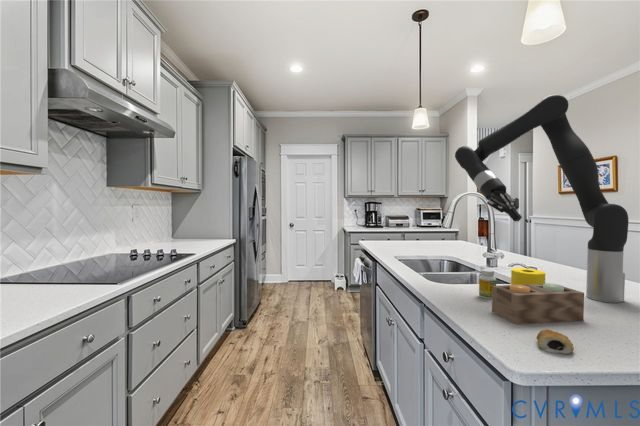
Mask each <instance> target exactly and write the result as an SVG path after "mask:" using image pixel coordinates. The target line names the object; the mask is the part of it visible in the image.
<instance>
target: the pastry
mask: <svg viewBox="0 0 640 426" xmlns="http://www.w3.org/2000/svg"><path fill="white" fill-rule="evenodd" d="M536 340H537V342H538V344H537V345H538V348H539V349H540V350H542V351H546V352H549V353H555V354H561V355H570V354H572V353H573V352H574V350H575V347H574V344H573V343H572V342H571V340H570V339H569V337H568V336H566V335H565V334H562V332H558V331H554V330H552V329H543V330H540V331H539V332H538V333H537V335H536Z"/></svg>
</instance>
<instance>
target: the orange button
mask: <svg viewBox="0 0 640 426" xmlns="http://www.w3.org/2000/svg"><path fill="white" fill-rule="evenodd" d="M509 285H510V290H511V291H514V292H517V293H530V287H528V286H524V285H516V284H513V285H511V284H509Z"/></svg>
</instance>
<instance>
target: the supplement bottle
mask: <svg viewBox="0 0 640 426" xmlns="http://www.w3.org/2000/svg"><path fill="white" fill-rule="evenodd" d="M494 275H495V270H493V269H488V268H487V269H486V268H485V269H484V268H483V269H481V275H480V276H479V277H478V285H479V286H478V296H479V297H480V298H481V299H486V300H492V286H497V277H496V276H494Z"/></svg>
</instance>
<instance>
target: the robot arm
mask: <svg viewBox="0 0 640 426" xmlns="http://www.w3.org/2000/svg"><path fill="white" fill-rule="evenodd" d="M568 109H569V101H568V99H567V98H566V97H565V96H563V95H561V94H551V95H548V96H546V97H544V98H542V99H541V100H540V101H539V102H538V103H537V104H535V105H534V106H533V107H532V108H530V109H529V110H528V111H527V112H525V113H524V114H522V115H521V116H519V117H518V118H516V119H514V120H512V121H510V122H509V123H507V124H506V125H504V126H502V127H500V128H498V129H496V130H495V131H492V132H491V133H490V134H487V136H485V137H483V138H482V139H479V141H478V142H477V144H478V146H477V148H476V149H475V150H474V149H473V148H471V147H470V146H466V145H463V146H461V147H458V148H457V149H456V151H455V154H454V158H455V160H456V161H457V163H458V165H460V167H461V169H463V170H464V171H465V172H466V173H467V175H468V177H469V178H470V180H471V181H472V182H473V183H474V186H475V187H476V188H477V189H478V190H479V192H480V193H481V194H482V195H483V197H484V198H485V199H486V200H487V202H486V204H487V205H488V206H490V207H491V208H493V209H495V210H497V211H498V212H500V213H505V214H507V215H508V216H509V217H510V218H511V219H512V221H513V222H520V221H521V219H522V215H521V214H520V213H519V211H517V210H518V209H519V208H520V199H519V198H517V197H515V198H513V197H512V196H511V195H510V194H509V193H508V192H507V186H506V185H505V184H504V183H503V182H502V181H501V179H500V178H499V177H498V176H497V175H496V174H495V172H492V171H491V169H490V168H489V167H488V166H487V165H486V164H485V163H484V161H485V160H486V159H487V158H489V156H490V155H493V154H494V153H496V152H497V151H499V150H501V149H503V148H504V147H507V146H509V144H511V143H513V142H515V141H516V140H517V139H519V138H520V137H522V136H524V135H525V134H527V133H528V132H530V131H532V130H534V129H536V128H538V127H541V128H542V130H543V132H544V133H545V134H546V136H547V138H548V139H549V142H550V144H551V147H552V151H553V153H554V155H555V158H556V160H557V163H558V164H559V166H560V168H561V170H562V172H563V174H564V175H565V177H566V179H567V182H568V183H569V185H570V187H571V189H572V191H573V192H574V194H575V196H576V198H577V201H578V203H579V206H580V210H581V212H582V215H583V217H584V220H585V222H586V223H587V224H588V226H590V227H592V228H593V229H592V230H593V232H592V237H591V238H590V239H589V240H588V241H587V260H586V261H587V262H586V292H585V293H586V295H585V296H586V297H587V298H589V299H590V300H591V299H592V300H595V301H598V302H599V301H600V302H606V303H617V304H618V303H622V302H623V301H625V290H626V289H625V286H626V284H625V283H626V281H625V280H626V274H625V272H624V248H625V245H626V244H627V240H628V233H629V231H628V230H629V215H628V211H627V210H626V208H624V207H623V206H622V205H620V204H615V203H609V202H608V200H607V199H606V197H605V195H604V193H603V192H602V190H601V187H600V181H599V180H600V178H599V169H598V165H597V162H596V160H595V158H594V156H593V155H592V153H591V151H590V149H589V146H587V144H586V143H584V141H583V140H582V139H581V138H580V137H579V136H578V135H577V133H576V132H575V131H574V129H573V128H572V126H571V124H570V121H569V119H568V117H567V114H566V113H567V112H568Z"/></svg>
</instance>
